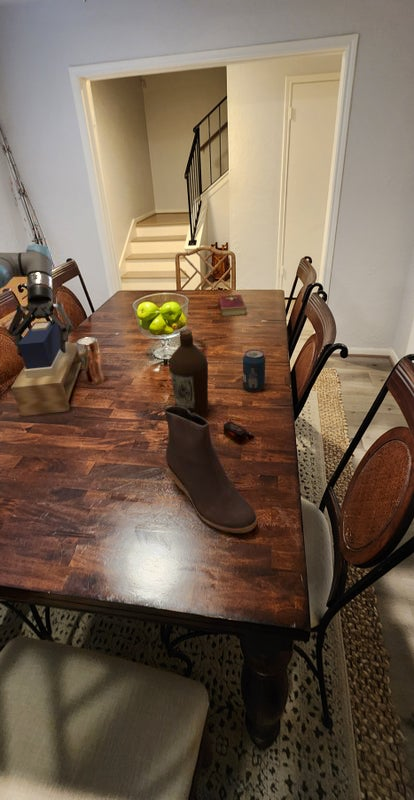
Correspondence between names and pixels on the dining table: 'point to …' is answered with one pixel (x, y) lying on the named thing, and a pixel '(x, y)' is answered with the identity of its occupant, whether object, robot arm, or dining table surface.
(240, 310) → the hardcover book
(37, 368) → the navy block on base
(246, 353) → the soda can
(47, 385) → the tan long block
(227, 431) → the wireless earbuds
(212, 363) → the dining table surface
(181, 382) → the olive oil
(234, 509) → the boot
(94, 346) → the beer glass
